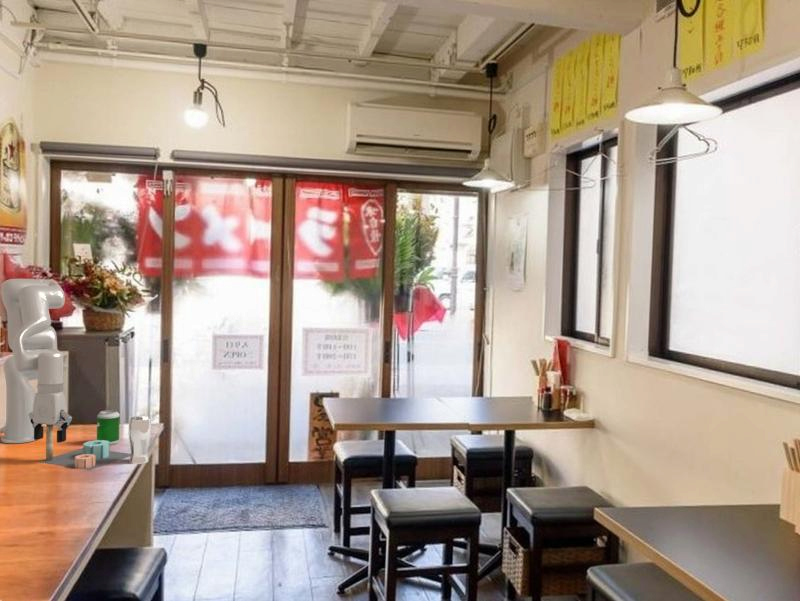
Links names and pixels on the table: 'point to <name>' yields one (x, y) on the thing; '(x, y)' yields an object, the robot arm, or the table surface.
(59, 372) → the robot arm
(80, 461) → the bead small
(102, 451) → the pale teal gear
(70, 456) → the mat
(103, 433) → the soda can
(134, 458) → the beer glass
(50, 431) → the tan wooden dowel
